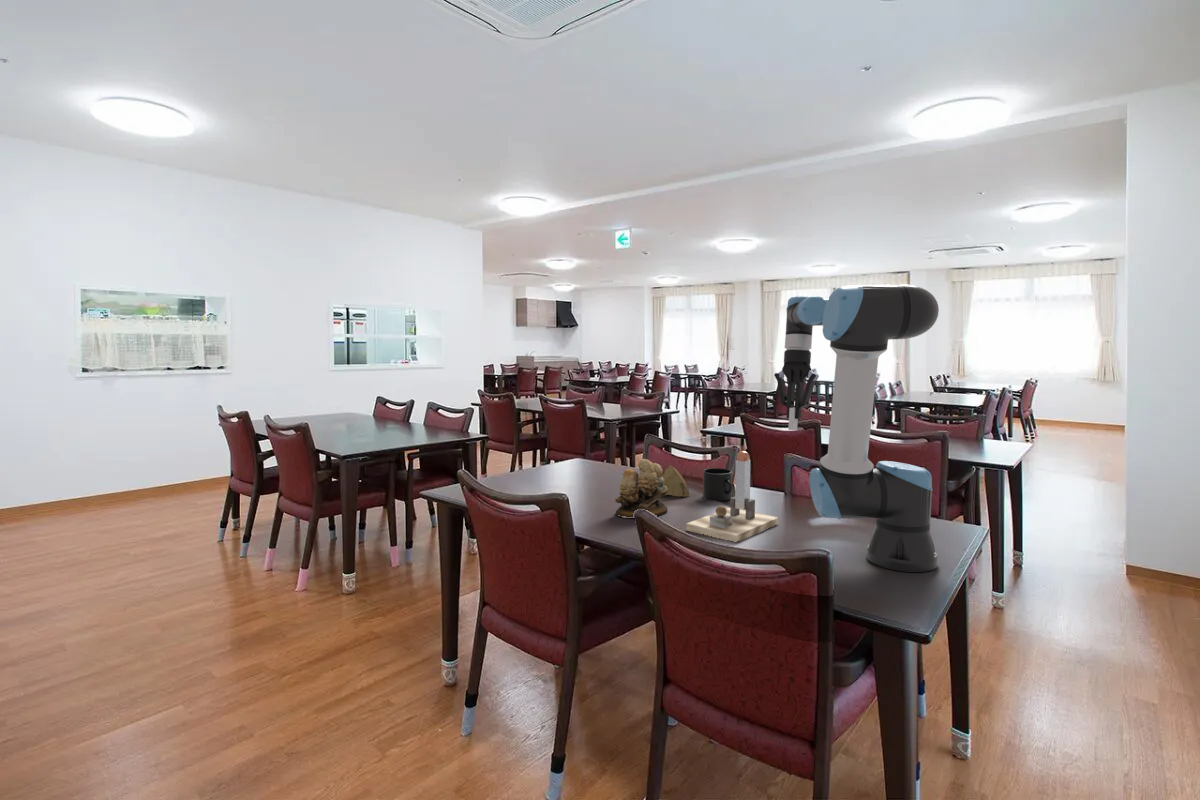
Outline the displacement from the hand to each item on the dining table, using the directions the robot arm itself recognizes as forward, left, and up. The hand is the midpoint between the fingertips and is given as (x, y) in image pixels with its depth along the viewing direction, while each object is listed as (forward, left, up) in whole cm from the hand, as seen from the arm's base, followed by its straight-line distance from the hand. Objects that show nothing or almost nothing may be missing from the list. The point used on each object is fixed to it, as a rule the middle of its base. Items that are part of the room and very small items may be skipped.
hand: (792, 430), depth 182 cm
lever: (-2, +17, -21) cm, 28 cm away
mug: (+25, +11, -26) cm, 38 cm away
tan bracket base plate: (-5, +22, -26) cm, 34 cm away
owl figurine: (+17, +41, -26) cm, 51 cm away
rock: (+34, +24, -26) cm, 49 cm away
